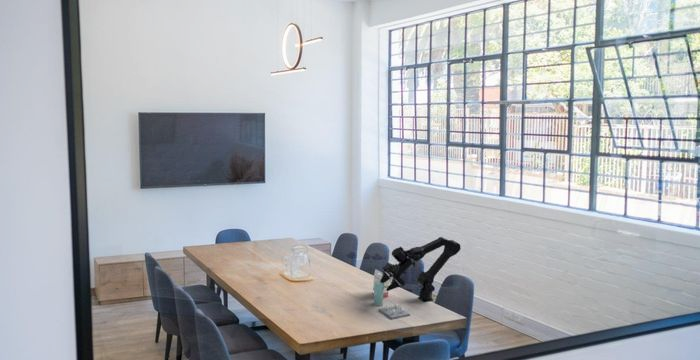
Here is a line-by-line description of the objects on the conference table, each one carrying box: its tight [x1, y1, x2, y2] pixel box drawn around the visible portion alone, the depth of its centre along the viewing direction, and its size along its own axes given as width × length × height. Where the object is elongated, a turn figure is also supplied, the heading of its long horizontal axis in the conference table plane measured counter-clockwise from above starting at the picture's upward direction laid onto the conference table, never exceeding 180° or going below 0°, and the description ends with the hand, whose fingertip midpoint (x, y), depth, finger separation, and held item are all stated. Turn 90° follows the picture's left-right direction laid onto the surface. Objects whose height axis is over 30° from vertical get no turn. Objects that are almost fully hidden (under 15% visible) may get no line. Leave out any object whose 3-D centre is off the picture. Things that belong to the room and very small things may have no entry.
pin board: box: [378, 303, 411, 320], centre depth 333 cm, size 12×12×4 cm
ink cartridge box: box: [372, 268, 390, 299], centre depth 355 cm, size 9×5×15 cm, turn 37°
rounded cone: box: [373, 282, 384, 307], centre depth 342 cm, size 5×5×12 cm
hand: (383, 287), depth 342 cm, fingers open, 9 cm apart
